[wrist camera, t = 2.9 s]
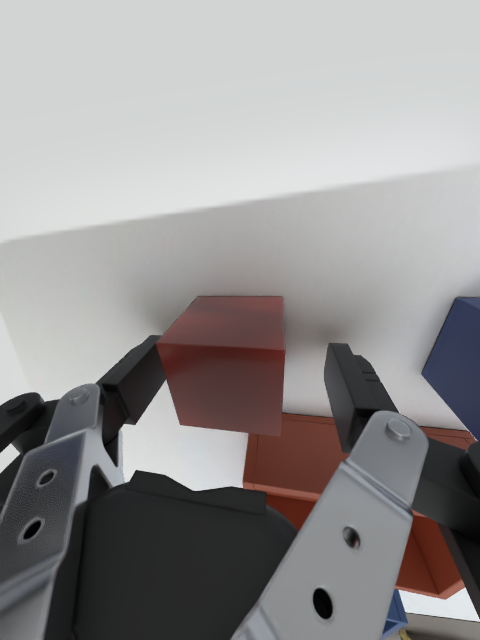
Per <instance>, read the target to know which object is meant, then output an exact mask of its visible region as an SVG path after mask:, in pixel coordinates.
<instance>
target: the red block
mask: <svg viewBox="0 0 480 640" xmlns="http://www.w3.org/2000/svg"><path fill="white" fill-rule="evenodd" d="M156 346H157V349H158V352H159V356H160V359H161V363H162V366H163V369H164V373H165V376H166V379H167V383H168V386H169V389H170V393H171V396H172V400H173V403H174V406H175V410H176V413H177V416H178V420H179V423H180V425H184V426H193V427H202V428H210V429H219V430H227V431H236V432H244V433H253V434H262V435H270V436H279V437H280V436H281V422H282V403H283V384H284V365H285V332H284V310H283V297H265V296H198V297H197V298H196V299H195V300H194V301H193V302H192V303H191V305H190V306H189V307H188V308H187V309H186V310H185V311H184V312H183V313H182V315H181V316H180V317H179V318H178V319H177V320H176V321H175V322H174V323H173V324H172V326H171V327H170V328H169V329H168V330H167V331H166V332H165V333H164V334H163V336H162V337H161V338H160V339H159V340H158V341H157V342H156Z"/></svg>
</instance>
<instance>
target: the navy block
mask: <svg viewBox="0 0 480 640" xmlns="http://www.w3.org/2000/svg"><path fill="white" fill-rule="evenodd" d="M422 376H423V377H424V378H425V379H426V380H427V382H428V383H429V384H430V385H431V386H432V387H433V389H434V390H435V391H436V392H437V393H438V395H439V396H440V397H441V398H442V399H443V400H444V402H445V403H446V404H447V405H448V406H449V407H450V409H451V410H452V411H453V412H454V413H455V414H456V416H457V417H458V418H459V419H460V420H461V422H462V423H463V424H464V425H465V426H466V427H467V429H468V430H469V431H470V432H471V433H472V434H473V436H474V437H475V438H476V439H477V440H478V442H480V298H456V300H455V302H454V304H453V306H452V308H451V311H450V313H449V315H448V317H447V319H446V322H445V324H444V326H443V328H442V330H441V333H440V335H439V337H438V339H437V341H436V344H435V346H434V348H433V350H432V352H431V354H430V357H429V359H428V361H427V363H426V365H425V368H424V370H423V372H422Z"/></svg>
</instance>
